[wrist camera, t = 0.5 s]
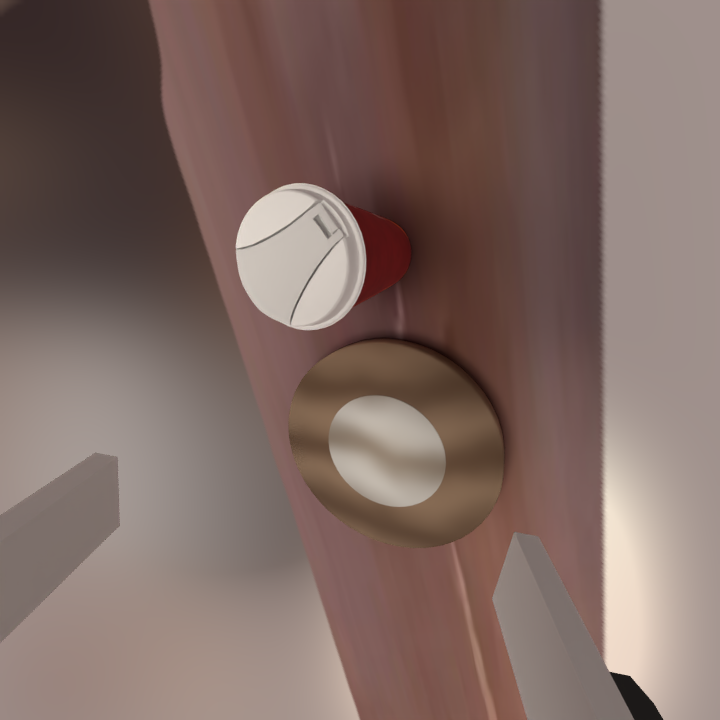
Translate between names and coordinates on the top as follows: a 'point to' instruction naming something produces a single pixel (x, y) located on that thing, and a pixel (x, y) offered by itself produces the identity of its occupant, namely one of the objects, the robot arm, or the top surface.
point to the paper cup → (316, 255)
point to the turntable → (397, 443)
